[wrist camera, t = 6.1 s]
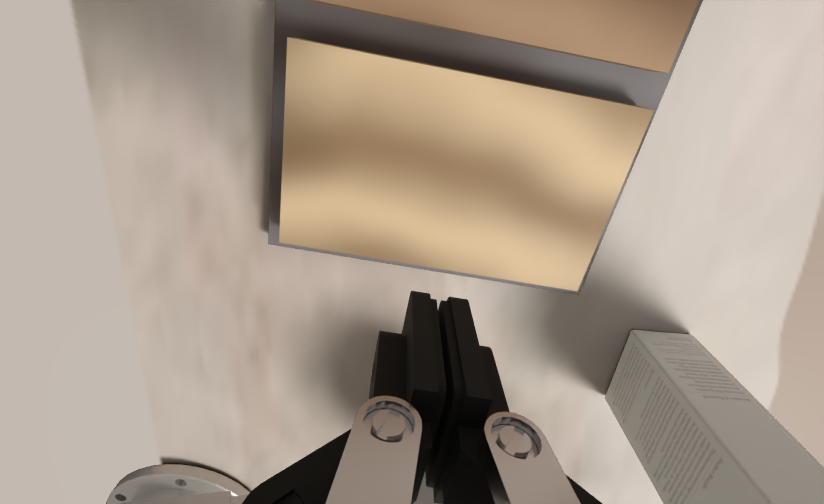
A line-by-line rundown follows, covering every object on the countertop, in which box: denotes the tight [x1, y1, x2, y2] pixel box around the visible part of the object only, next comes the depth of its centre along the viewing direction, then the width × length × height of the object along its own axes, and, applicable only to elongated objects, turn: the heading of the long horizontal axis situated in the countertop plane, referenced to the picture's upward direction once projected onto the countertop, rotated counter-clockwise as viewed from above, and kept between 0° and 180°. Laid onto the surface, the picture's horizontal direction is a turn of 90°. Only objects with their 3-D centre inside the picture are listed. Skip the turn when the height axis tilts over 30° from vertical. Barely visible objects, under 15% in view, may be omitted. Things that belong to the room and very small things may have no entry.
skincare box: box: [605, 330, 824, 504], centre depth 22 cm, size 6×4×12 cm
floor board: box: [268, 0, 703, 295], centre depth 19 cm, size 20×18×2 cm
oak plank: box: [279, 37, 654, 291], centre depth 20 cm, size 10×16×2 cm, turn 80°
